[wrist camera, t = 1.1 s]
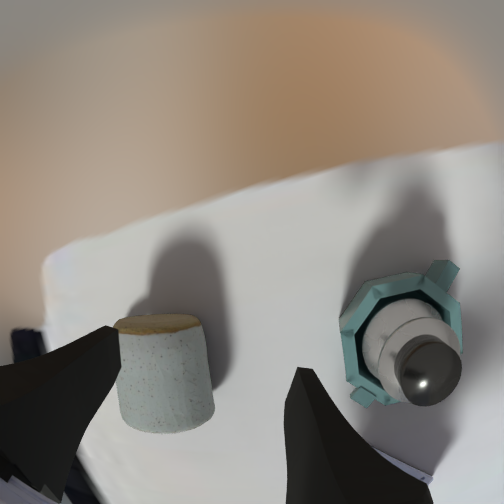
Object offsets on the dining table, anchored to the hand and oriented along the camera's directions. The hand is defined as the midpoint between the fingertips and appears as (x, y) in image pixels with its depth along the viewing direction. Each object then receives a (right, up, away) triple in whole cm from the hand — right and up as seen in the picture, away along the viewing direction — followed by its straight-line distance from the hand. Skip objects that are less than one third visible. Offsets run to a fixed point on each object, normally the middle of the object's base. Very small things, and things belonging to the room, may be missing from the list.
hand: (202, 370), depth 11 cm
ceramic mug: (-5, -5, +14) cm, 16 cm away
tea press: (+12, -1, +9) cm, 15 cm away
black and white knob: (+11, -1, +6) cm, 13 cm away
